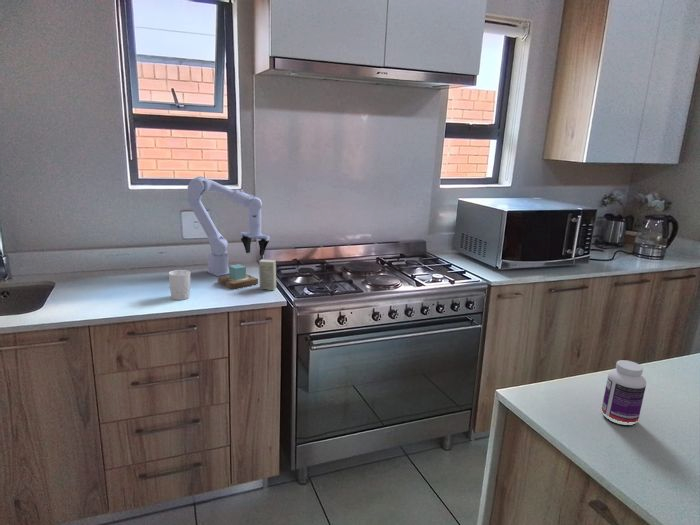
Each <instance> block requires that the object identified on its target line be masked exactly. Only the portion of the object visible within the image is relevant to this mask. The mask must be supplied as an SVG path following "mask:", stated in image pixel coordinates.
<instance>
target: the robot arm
mask: <svg viewBox="0 0 700 525" xmlns="http://www.w3.org/2000/svg"><path fill="white" fill-rule="evenodd" d="M211 191H212V192H216V193H218V194H220V195H221V194H222V195H224V196H226V197H228V198H230V199H231V202H233V203H235V204H237V205H239V206H241V207H244V208H247V209H248V215H247V216H248V219H247V220H248V221H247V222H248V231H241V232H240V237H241V238H240V240H241V242H242V244H243V246H244V249H245V250H244V251H245V253H246V254H249V253H251V244H252V243H251V242H252V239H255V240H258V241H257V243H258V246H259V256H264V254H265V252H266V249H267V246H268V244H269V242H270V239H271V237H270V236H271V235H267V234H263V233H262V206H263V203H262V200H261V199H260V198H259V197H258V196H254V195H253V194H249V193H246V192H244V190H243V189H240V190H239V189H235V190H233V189H231V188H229V187H227V186H225V185H223V184H221V183H218V182H216V181H214V180H212V179H210V178H206V177H204V176H197V177H194V178H192V179H191V180H190V181H189V184H188V186H187V203H188V205H189V206H190V208H191V210H192V211H193V214H194V216H195V217H196V219H197V220H198V222H199V224H200V225H201V227H202V229H203V230H204V232H205V235H206V237H207V238H208V239H207V240H208V243H209V245H210V251H211V253H210V254H208V257H207V262H208V263H207V266H208V268H207V269H208V270H206V272H207V273H209V274H211V275H213V276H216V277H221V276H227V275H229V252H228V251H227V250H228V248H229V242H228V240H227V239H226V238H225V237H224V236H223V235H222V234H221V233H220V232H219V230H218V229H217V227H216V225H215V223H214V222H213V220H212V218H211V216H210V215H209V212H208V210H207V209H206V208H205V206H204V204H203V202H202V198H203V195H204V193H205V192H211Z"/></svg>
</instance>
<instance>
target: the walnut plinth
mask: <svg viewBox="0 0 700 525" xmlns="http://www.w3.org/2000/svg"><path fill="white" fill-rule="evenodd" d="M217 278H218V280H217V282H218V284H221V285H223V286H225V287H227V288H229V289H231V290H233V291H235V290H240V289H243V287H244V288H248V287H247V286H249V287H252V285H254V286H257V285H256V284H258V285H259V279H258V278H256V277H254V276H252V275H250V274H247V273H246V278H244V279H239V280H234V279H232V278H230V277H229V274H226V275H221V276H217ZM239 288H240V289H239ZM234 289H235V290H234Z"/></svg>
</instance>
